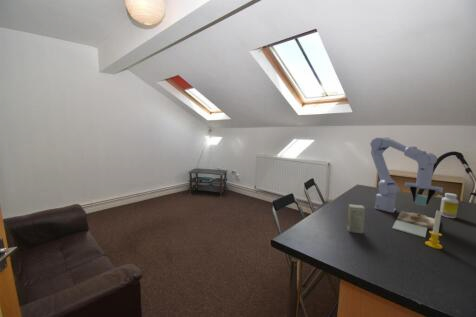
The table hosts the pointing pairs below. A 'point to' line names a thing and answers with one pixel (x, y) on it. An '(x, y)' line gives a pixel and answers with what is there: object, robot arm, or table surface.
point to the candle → (435, 233)
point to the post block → (416, 219)
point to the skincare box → (355, 218)
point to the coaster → (410, 228)
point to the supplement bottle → (449, 205)
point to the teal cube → (420, 200)
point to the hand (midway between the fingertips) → (420, 202)
